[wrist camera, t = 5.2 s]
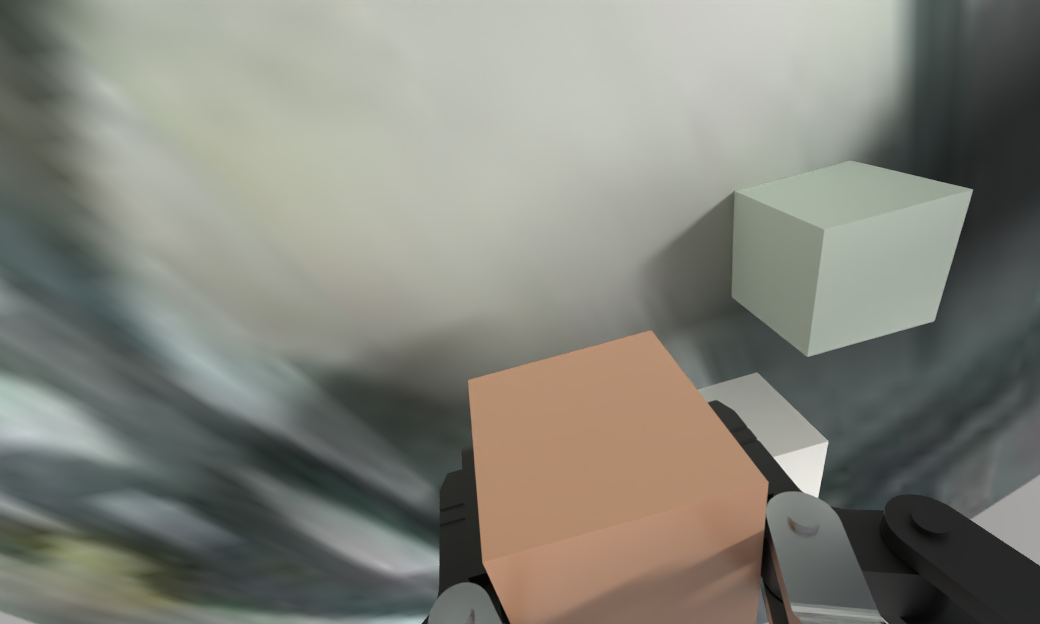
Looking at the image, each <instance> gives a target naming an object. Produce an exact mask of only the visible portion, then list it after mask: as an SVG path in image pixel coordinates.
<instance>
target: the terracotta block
mask: <svg viewBox="0 0 1040 624" xmlns="http://www.w3.org/2000/svg"><path fill="white" fill-rule="evenodd" d="M468 386H469V399H470V412H471V424H472V437H473V449H474V462H475V475H476V487H477V500H478V513H479V525H480V538H481V550H482V563H483V565H484V567H485V569H486V571H487V574H488V576H489V578H490V580H491V582H492V584H493V587H494V589H495V591H496V593H497V595H498V597H499V600H500V602H501V604H502V606H503V608H504V611H505V613H506V615H507V617H508V619H509V621H510V624H756V620H757V609H758V597H759V586H760V574H761V563H762V552H763V540H764V529H765V517H766V506H767V494H768V483H769V482H768V481H767V480H766V478H765V477H764V476H763V474H762V473H761V472H760V471H759V469H758V468H757V467H756V465H755V464H754V463H753V461H752V460H751V459H750V458H749V456H748V455H747V454H746V452H745V451H744V450H743V448H742V447H741V446H740V445H739V443H738V442H737V441H736V439H735V438H734V437H733V435H732V434H731V433H730V432H729V430H728V429H727V428H726V426H725V425H724V424H723V422H722V421H721V420H720V418H719V417H718V416H717V415H716V413H715V412H714V411H713V409H712V408H711V407H710V405H709V404H708V403H707V402H706V400H705V399H704V398H703V396H702V395H701V394H700V392H699V391H698V390H697V389H696V387H695V386H694V385H693V383H692V382H691V381H690V379H689V378H688V377H687V375H686V374H685V373H684V372H683V370H682V369H681V368H680V366H679V365H678V364H677V362H676V361H675V360H674V359H673V357H672V356H671V355H670V353H669V352H668V351H667V349H666V348H665V347H664V346H663V344H662V343H661V342H660V340H659V339H658V338H657V336H656V335H655V334H654V333H653V331H652V330H649V331H646V332H642V333H638V334H635V335H631V336H627V337H624V338H620V339H616V340H613V341H609V342H605V343H602V344H598V345H594V346H591V347H587V348H583V349H580V350H576V351H572V352H569V353H565V354H561V355H558V356H554V357H550V358H547V359H543V360H539V361H536V362H532V363H528V364H525V365H521V366H517V367H514V368H510V369H506V370H503V371H499V372H495V373H492V374H488V375H484V376H481V377H477V378H473V379H470V380H468Z"/></svg>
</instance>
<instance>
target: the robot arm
mask: <svg viewBox="0 0 1040 624" xmlns="http://www.w3.org/2000/svg"><path fill="white" fill-rule="evenodd" d="M707 403H708V404H709V405H710V407H711V408H712V409H713V411H714V412H715V413H716V415H717V416H718V417H719V418H720V420H721V421H722V422H723V424H724V425H725V426H726V428H727V429H728V430H729V432H730V433H731V434H732V435H733V437H734V438H735V439H736V441H737V442H738V443H739V445H740V446H741V447H742V448H743V450H744V451H745V452H746V454H747V455H748V456H749V458H750V459H751V460H752V461H753V463H754V464H755V465H756V467H757V468H758V469H759V471H760V472H761V473H762V474H763V476H764V477H765V478H766V480H767V481H768V482H769V483H768V494H767V506H766V517H765V529H764V540H763V552H762V563H761V574H760V586H761V591H762V595H763V600H764V604H765V608H766V613H767V617H768V622H769V624H886V623H885V622H884V621H883V619H885V620H886V621H887V622H888V623H889V624H1040V566H1039V565H1038V564H1036V563H1034V562H1033V561H1032V560H1030V559H1029V558H1027V557H1026V556H1024V555H1023V554H1021V553H1019V552H1018V551H1016V550H1015V549H1014V548H1012V547H1010V546H1009V545H1007V544H1006V543H1004V542H1003V541H1001V540H1000V539H998V538H997V537H995V536H994V535H992V534H991V533H989V532H988V531H986V530H985V529H983V528H982V527H980V526H979V525H977V524H976V523H974V522H973V521H971V520H970V519H968V518H966V517H965V516H963V515H962V514H960V513H959V512H957V511H956V510H954V509H953V508H951V507H949V506H948V505H946V504H944V503H942V502H940V501H938V500H935V499H932V498H929V497H925V496H921V495H911V494H907V495H900V496H896V497H894V498H892V499H891V500H890V501H888V503H887V504H886V506H885V510H884V511H878V510H849V509H839V508H834V507H831V506H829V505H828V504H826V503H825V502H824V501H822V500H820V499H819V498H817V497H814V496H812V495H809V494H806V493H804V492H802V491H801V490H800V489H799V488H798V487H797V486H796V484H795V483H794V482H793V481H792V480H791V478H790V477H789V476H788V475H787V474H786V472H785V471H784V470H783V469H782V467H781V466H780V465H779V464H778V463H777V461H776V460H775V459H774V458H773V457H772V455H771V454H770V453H769V452H768V451H767V449H766V448H765V447H764V446H763V445H762V443H761V442H760V441H758V440H757V437H756V436H755V435H754V434H753V432H752V431H751V430H750V429H749V428H747V425H746V424H745V423H744V422H743V420H742V419H741V418H740V417H739V415H738V414H737V413H736V412H735V411H734V410H733V409H731V408H729V407H728V406H726V405H724V404H723V403H721V402H719V401H718V400H714V401H710V402H707ZM462 468H463V469H462V470H458V471H455V472H451V473H448V474H447V476H446V478H445V481H444V483H443V485H442V488H441V490H440V569H439V593H438V597H437V600H436V601H435V603H434V605H433V607H432V609H431V611H430V614H429V615H428V617H427V618H426V619H425V620H424V622H423V623H422V624H510V621H509V619H508V617H507V615H506V613H505V611H504V608H503V606H502V604H501V602H500V600H499V597H498V595H497V593H496V591H495V589H494V587H493V584H492V582H491V580H490V578H489V576H488V574H487V571H486V569H485V567H484V565H483V563H482V550H481V538H480V525H479V513H478V500H477V487H476V475H475V462H474V449H473V446H470V447H467V448H463V449H462ZM881 617H882V618H883V619H882V618H881Z"/></svg>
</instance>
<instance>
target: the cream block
mask: <svg viewBox="0 0 1040 624" xmlns="http://www.w3.org/2000/svg"><path fill="white" fill-rule="evenodd" d="M697 390H698V391H699V392H700V394H701V395H702V396H703V398H704V399H705V400H706V402H710V401H714V400H718V401H719V402H721V403H723V404H724V405H726V406H728V407H729V408H731V409H733V410H734V411H735V412H736V413H737V414H738V415H739V417H740V418H741V419H742V420H743V422H744V423H745V424H746V425H747V428H749V429H750V430H751V431H752V432H753V434H754V435H755V436H756V437H757V440H758V441H760V442H761V443H762V445H763V446H764V447H765V448H766V449H767V451H768V452H769V453H770V454H771V455H772V457H773V458H774V459H775V460H776V461H777V463H778V464H779V465H780V466H781V467H782V469H783V470H784V471H785V472H786V474H787V475H788V476H789V477H790V478H791V480H792V481H793V482H794V483H795V484H796V486H797V487H798V488H799V489H800V490H801V491H802V492H804V493H806V494H809V495H812V496H814V497H817V498H818V495H819V490H820V484H821V479H822V473H823V468H824V462H825V457H826V451H827V446H828V440H827V439H826V438H825V437H824V436H822V435H821V434H820V433H819V432H818V431H817V430H816V429H815V428H814V427H813V426H812V425H811V424H810V423H809V422H808V421H807V420H806V419H805V418H804V417H803V416H802V415H801V414H800V413H799V412H798V411H797V410H796V409H795V408H794V407H793V406H791V405H790V404H789V403H788V402H787V401H786V400H785V399H784V398H783V397H782V396H781V395H780V394H779V393H778V392H777V391H776V390H775V389H774V388H773V387H772V386H771V385H770V384H769V383H768V382H767V381H766V380H765V379H764V378H763V377H762V376H761V375H759V374H758V373H753V374H750V375H746V376H743V377H739V378H736V379H732V380H729V381H725V382H722V383H718V384H714V385H711V386H707V387H704V388H700V389H697Z"/></svg>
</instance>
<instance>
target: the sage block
mask: <svg viewBox="0 0 1040 624" xmlns="http://www.w3.org/2000/svg"><path fill="white" fill-rule="evenodd" d="M972 192H973V189H969V188H965V187H961V186H956V185H952V184H948V183H944V182H940V181H935V180H931V179H927V178H923V177H919V176H914V175H910V174H906V173H902V172H898V171H893V170H889V169H885V168H881V167H876V166H872V165H868V164H864V163H860V162H855V161H851V160H850V161H846V162H842V163H839V164H835V165H831V166H827V167H823V168H820V169H816V170H812V171H808V172H804V173H801V174H797V175H793V176H789V177H785V178H782V179H778V180H774V181H770V182H767V183H763V184H759V185H755V186H751V187H748V188H744V189H740V190H736V191H735V192H734V227H733V261H732V296H731V297H732V298H734V299H735V300H736V301H737V302H739V303H740V304H741V305H742V306H744V307H745V308H746V309H747V310H749V311H750V312H751V313H753V314H754V315H755V316H756V317H758V318H759V319H760V320H761V321H763V322H764V323H765V324H766V325H768V326H769V327H770V328H771V329H773V330H774V331H775V332H777V333H778V334H779V335H780V336H782V337H783V338H784V339H785V340H787V341H788V342H789V343H790V344H792V345H793V346H794V347H795V348H797V349H798V350H799V351H801V352H802V353H803V354H804V355H806V356H807V357H809V356H812V355H816V354H819V353H823V352H827V351H830V350H834V349H837V348H841V347H844V346H848V345H851V344H855V343H859V342H862V341H866V340H869V339H873V338H876V337H880V336H883V335H887V334H890V333H894V332H898V331H901V330H905V329H908V328H912V327H915V326H919V325H922V324H926V323H930V322H933V321H935V317H936V314H937V310H938V307H939V304H940V300H941V297H942V294H943V290H944V287H945V283H946V280H947V277H948V273H949V270H950V267H951V263H952V260H953V256H954V253H955V250H956V246H957V243H958V240H959V236H960V233H961V229H962V226H963V223H964V219H965V216H966V213H967V209H968V206H969V202H970V199H971V196H972Z"/></svg>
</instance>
